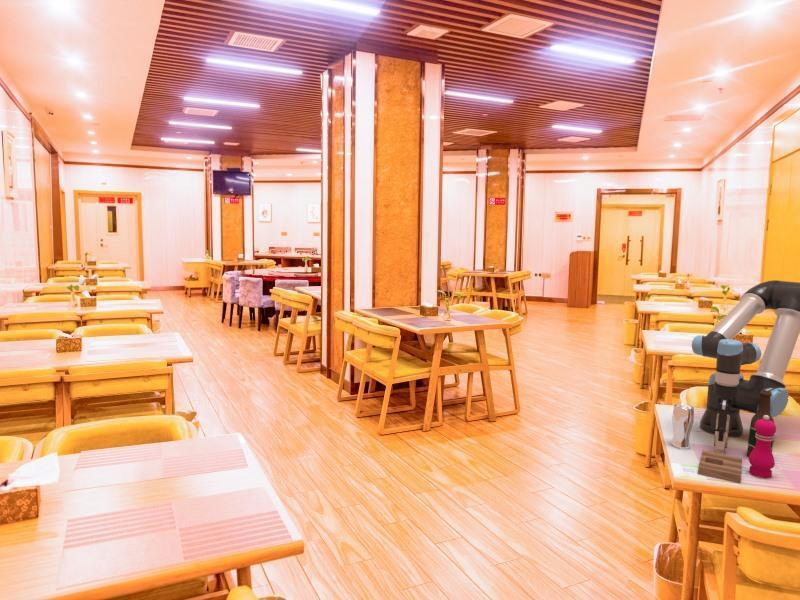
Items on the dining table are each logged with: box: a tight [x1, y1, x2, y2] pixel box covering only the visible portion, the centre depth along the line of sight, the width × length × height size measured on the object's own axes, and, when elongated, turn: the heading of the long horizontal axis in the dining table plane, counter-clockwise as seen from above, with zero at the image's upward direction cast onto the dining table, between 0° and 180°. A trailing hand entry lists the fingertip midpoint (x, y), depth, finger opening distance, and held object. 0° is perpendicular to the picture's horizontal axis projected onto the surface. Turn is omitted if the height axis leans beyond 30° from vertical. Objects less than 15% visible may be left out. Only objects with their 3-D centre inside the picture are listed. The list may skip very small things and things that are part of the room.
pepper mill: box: [748, 415, 777, 479], centre depth 189 cm, size 7×7×20 cm
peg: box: [713, 413, 730, 455], centre depth 207 cm, size 4×4×14 cm
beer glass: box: [671, 403, 695, 450], centre depth 213 cm, size 7×7×15 cm
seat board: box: [697, 449, 743, 484], centre depth 193 cm, size 17×12×2 cm
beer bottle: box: [746, 391, 776, 458], centre depth 203 cm, size 8×8×24 cm
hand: (720, 445), depth 208 cm, fingers open, 8 cm apart
